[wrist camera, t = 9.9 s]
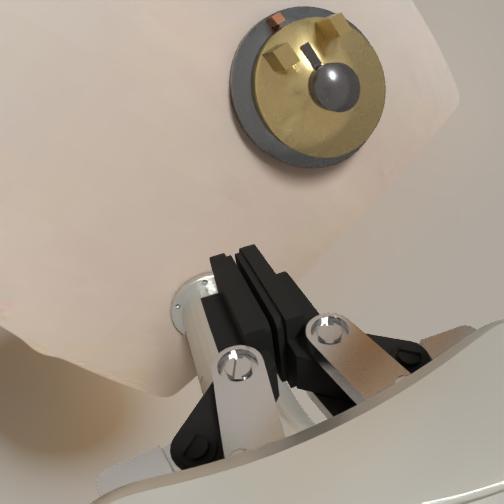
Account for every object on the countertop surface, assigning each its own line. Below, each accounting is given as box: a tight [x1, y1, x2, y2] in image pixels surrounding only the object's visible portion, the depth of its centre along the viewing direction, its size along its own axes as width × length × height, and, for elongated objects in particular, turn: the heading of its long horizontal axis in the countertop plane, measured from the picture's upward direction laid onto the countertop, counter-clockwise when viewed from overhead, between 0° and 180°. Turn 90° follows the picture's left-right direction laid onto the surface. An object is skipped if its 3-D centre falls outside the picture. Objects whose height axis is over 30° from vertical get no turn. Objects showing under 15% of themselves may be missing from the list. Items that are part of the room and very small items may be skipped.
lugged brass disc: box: [250, 13, 386, 158], centre depth 31 cm, size 18×18×6 cm
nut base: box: [230, 7, 369, 168], centre depth 33 cm, size 22×22×3 cm
